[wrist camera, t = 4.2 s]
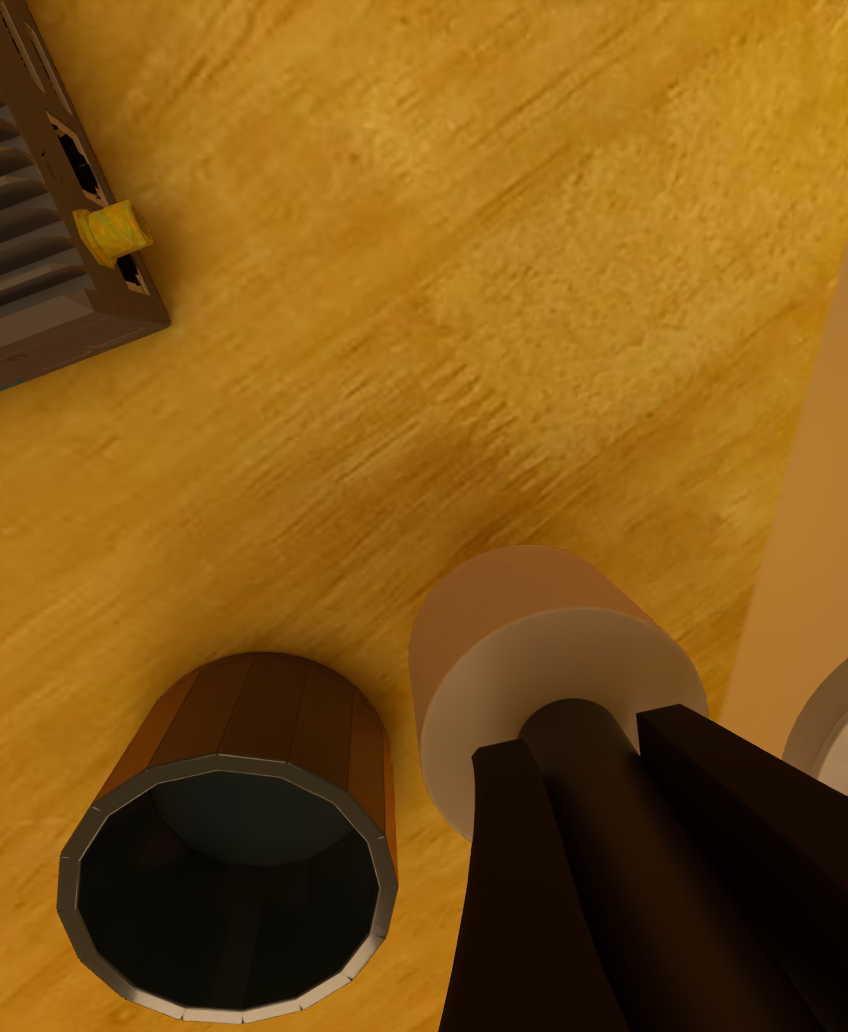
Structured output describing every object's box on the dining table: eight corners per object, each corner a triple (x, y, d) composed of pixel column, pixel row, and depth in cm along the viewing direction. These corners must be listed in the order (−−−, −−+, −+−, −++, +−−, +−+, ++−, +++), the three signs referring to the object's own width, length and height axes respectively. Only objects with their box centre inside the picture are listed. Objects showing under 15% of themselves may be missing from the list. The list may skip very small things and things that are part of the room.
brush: (672, 617, 12) (1226, 1094, 4) (540, 781, 13) (805, 1444, 5) (495, 499, 11) (782, 828, 3) (364, 683, 12) (347, 1308, 4)
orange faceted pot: (437, 726, 20) (458, 846, 15) (309, 900, 21) (289, 1063, 16) (216, 606, 18) (158, 696, 13) (92, 803, 19) (-3, 952, 14)
